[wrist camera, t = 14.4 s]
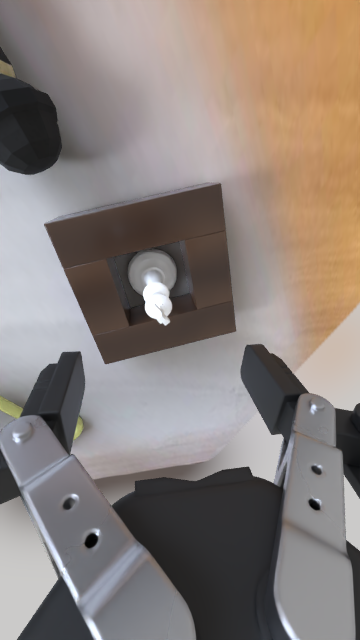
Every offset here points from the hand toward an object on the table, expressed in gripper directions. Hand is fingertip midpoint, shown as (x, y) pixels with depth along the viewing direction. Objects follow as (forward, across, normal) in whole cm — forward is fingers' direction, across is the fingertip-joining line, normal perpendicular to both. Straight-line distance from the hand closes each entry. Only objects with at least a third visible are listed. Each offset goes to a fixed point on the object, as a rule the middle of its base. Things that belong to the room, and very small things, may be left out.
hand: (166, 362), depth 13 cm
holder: (+15, 0, 0) cm, 15 cm away
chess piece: (+15, 0, 0) cm, 15 cm away
